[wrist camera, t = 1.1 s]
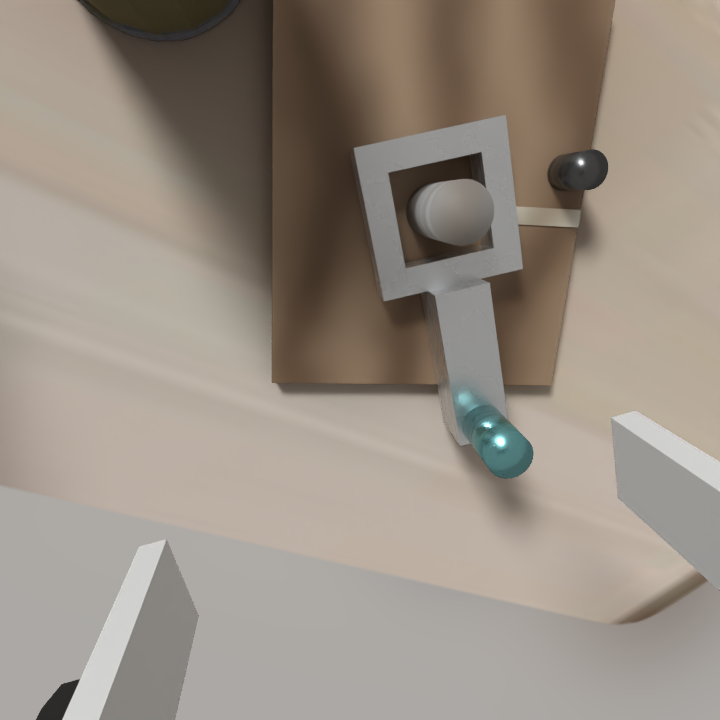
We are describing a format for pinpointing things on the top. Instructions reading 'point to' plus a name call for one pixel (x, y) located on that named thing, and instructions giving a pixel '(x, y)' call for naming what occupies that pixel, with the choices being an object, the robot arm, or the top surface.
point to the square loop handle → (453, 281)
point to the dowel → (578, 170)
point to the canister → (161, 16)
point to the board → (422, 171)
